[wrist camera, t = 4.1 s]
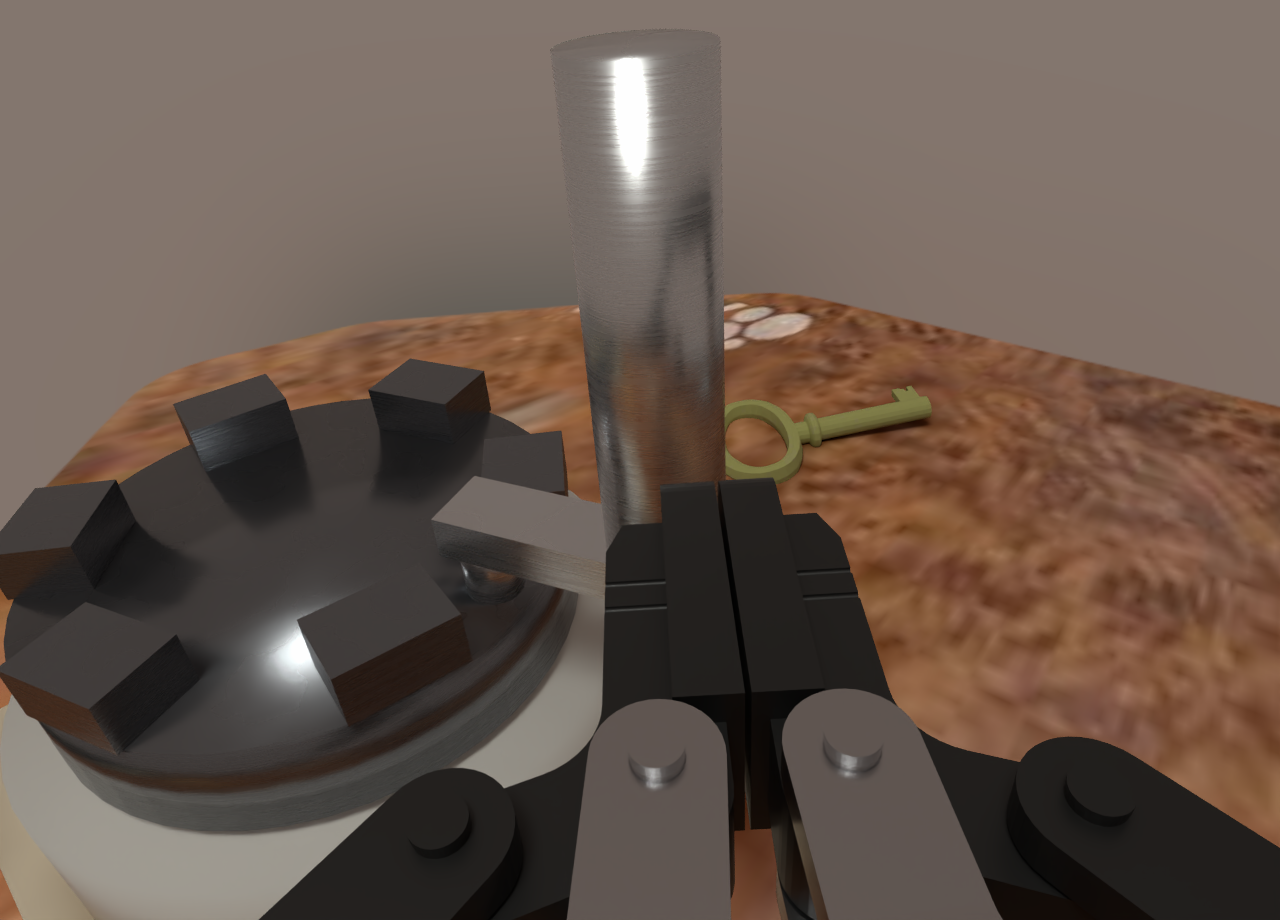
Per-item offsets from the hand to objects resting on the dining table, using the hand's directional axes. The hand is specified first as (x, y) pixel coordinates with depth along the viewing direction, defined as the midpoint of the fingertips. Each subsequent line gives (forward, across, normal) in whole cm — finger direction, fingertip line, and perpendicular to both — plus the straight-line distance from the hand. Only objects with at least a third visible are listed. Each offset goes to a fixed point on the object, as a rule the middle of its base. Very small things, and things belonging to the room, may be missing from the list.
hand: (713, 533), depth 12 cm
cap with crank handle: (+10, +10, +12) cm, 18 cm away
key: (+31, -8, +20) cm, 37 cm away
